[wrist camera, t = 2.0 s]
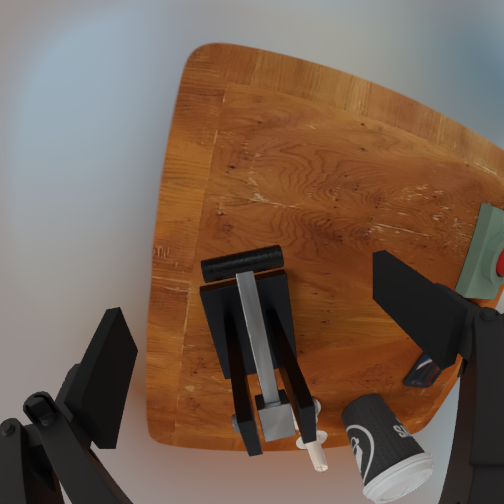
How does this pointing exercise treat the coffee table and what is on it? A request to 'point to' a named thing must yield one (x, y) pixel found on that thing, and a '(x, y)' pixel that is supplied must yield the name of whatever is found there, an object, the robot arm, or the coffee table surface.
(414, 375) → the smartphone
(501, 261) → the button
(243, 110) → the coffee table surface
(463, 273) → the button box
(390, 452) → the coffee cup
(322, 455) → the candle
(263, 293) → the bracket
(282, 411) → the lever
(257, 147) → the coffee table surface
